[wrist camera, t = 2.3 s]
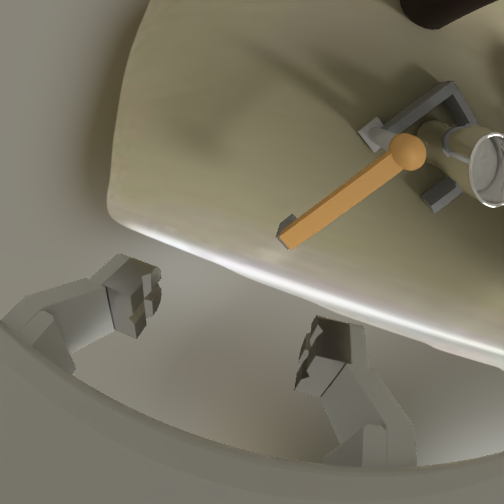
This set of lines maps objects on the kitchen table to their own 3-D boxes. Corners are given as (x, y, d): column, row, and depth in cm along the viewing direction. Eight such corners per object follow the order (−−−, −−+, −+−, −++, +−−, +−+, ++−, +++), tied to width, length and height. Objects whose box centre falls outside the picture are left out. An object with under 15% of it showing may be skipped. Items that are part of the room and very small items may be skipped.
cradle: (482, 157, 26) (535, 184, 16) (412, 211, 33) (445, 257, 22) (434, 74, 23) (483, 65, 13) (357, 131, 30) (377, 144, 19)
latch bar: (399, 124, 20) (413, 127, 16) (416, 149, 20) (432, 158, 17) (276, 218, 27) (269, 236, 24) (294, 239, 28) (290, 259, 24)
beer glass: (435, 106, 25) (501, 114, 13) (464, 148, 27) (531, 180, 14) (401, 137, 29) (453, 161, 16) (432, 178, 30) (487, 225, 17)
